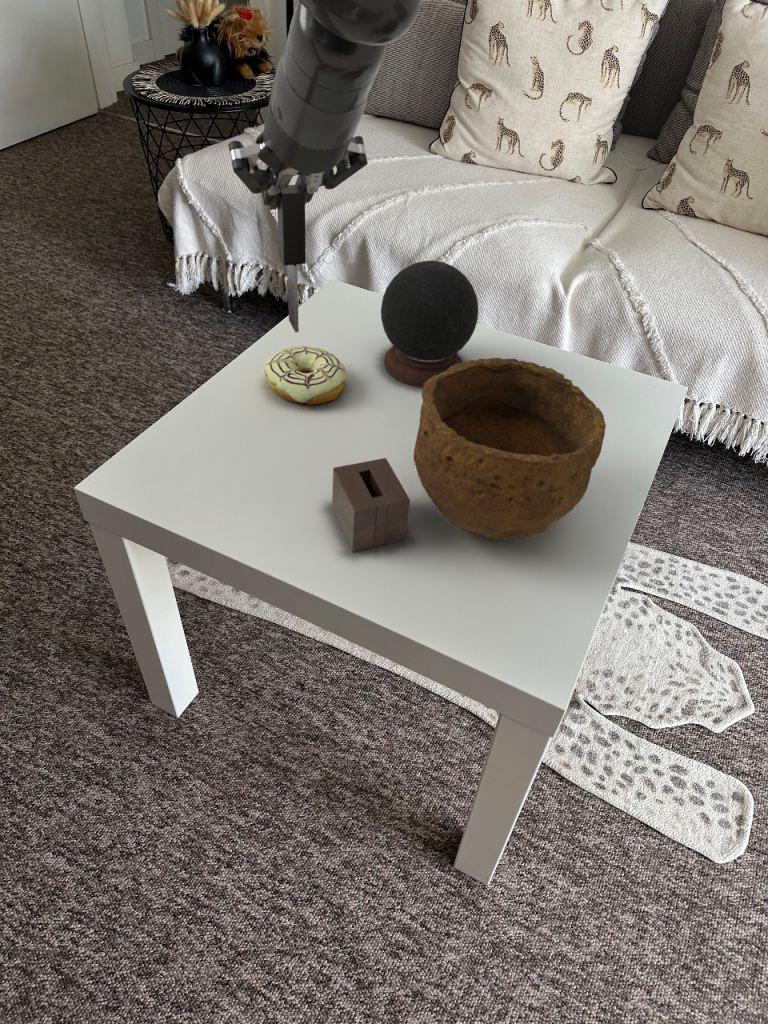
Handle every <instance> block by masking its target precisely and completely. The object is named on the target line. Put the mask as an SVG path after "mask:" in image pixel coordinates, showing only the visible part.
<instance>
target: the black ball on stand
mask: <svg viewBox="0 0 768 1024" xmlns="http://www.w3.org/2000/svg"><path fill="white" fill-rule="evenodd" d="M383 293H384V294H383V295H382V301H381V307H380V318H381V319H380V320H381V324H382V328H383V331H384V333H385V335H386V337H387V339H388V340H389V342H390V344H391V345H392V346H391V347H390V348H389V349H388V350H387V351H386V352H385V354H384V361H383V365H384V369H385V371H386V373H387V374H389V376H390V377H392V378H393V379H394V380H396V381H398V382H400V383H402V384H403V385H408V386H411V387H416V388H422V389H423V386H424V383H425V382H426V381H427V380H429V379H430V378H431V377H433V376H435V375H439V374H440V373H442V372H444V371H447V370H448V368H449V367H450V366H453V365H455V364H457V363H463V361H462V358H461V357H460V356H459V352H460V351H461V350H462V349H463V348H464V347H465V346H466V345H467V344H468V342H469V341H470V340H471V338H472V336H473V334H474V332H475V330H476V328H477V324H478V320H479V301H478V297H477V293H476V291H475V289H474V286H473V285H472V283H471V282H470V280H469V279H468V278H467V276H466V275H465V274H464V273H463V272H462V271H460V270H459V269H458V268H456V267H455V266H454V265H451V264H449V263H446V262H442V261H439V260H423V261H418V262H414V263H412V264H410V265H408V266H406V267H404V268H403V269H402V270H400V271H399V272H398V273H397V274H396V275H395V276H394V277H393V278H392V279H391V281H390V282H389V284H388V285H387V286H386V289H385V291H384V292H383Z"/></svg>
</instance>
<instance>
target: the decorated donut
mask: <svg viewBox="0 0 768 1024" xmlns="http://www.w3.org/2000/svg"><path fill="white" fill-rule="evenodd" d="M265 361H266V362H265V365H264V372H263V373H264V377H265V379H266V381H267V384H268V387H270V389H271V390H272V391H273V393H275V394H276V395H277V396H278V397H280V398H282V399H283V400H287V401H289V402H293V403H295V402H296V403H300V404H305V405H308V406H312V405H320V404H324V403H326V402H332V401H334V400H336V399H338V397H339V395H340V394H341V393H342V391H343V390H344V388H345V382H346V381H347V380H348V375H347V371H346V368H345V366H344V364H343V363H342V361H341V360H340V359H339V358H338V357H337V356H336V355H335V354H333V353H332V352H329V351H327V350H324V349H321V348H319V347H313V346H293V347H287V348H285V349H282V350H280V351H278V352H277V353H275V354H273V355H271V356H270V357H269V358H267V359H266V360H265Z"/></svg>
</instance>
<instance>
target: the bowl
mask: <svg viewBox="0 0 768 1024" xmlns="http://www.w3.org/2000/svg"><path fill="white" fill-rule="evenodd" d="M421 398H422V404H421V406H420V411H419V414H420V417H419V426H418V429H417V430H418V431H417V436H416V439H415V444H414V449H413V459H414V465H415V469H416V472H417V475H418V477H419V480H420V483H421V486H422V487H423V490H424V491H425V492H426V494H427V496H428V498H429V499H430V501H431V502H432V503H433V504H434V506H435V507H436V509H438V511H439V512H440V513H441V514H442V515H443V516H444V517H445V518H446V519H447V520H448V521H450V522H451V523H452V524H453V525H454V526H456V527H457V528H458V529H461V530H463V531H468V532H471V533H474V534H478V535H480V536H483V537H486V538H489V539H492V540H514V539H518V538H524V537H528V536H532V535H536V534H540V533H543V532H545V531H546V530H547V529H549V528H550V527H552V525H553V524H555V523H557V522H558V521H559V520H560V519H562V518H564V517H565V516H566V515H568V514H570V512H571V511H573V509H574V508H575V507H576V506H577V505H579V503H580V502H581V500H582V499H583V498H584V495H585V494H586V492H587V490H588V487H589V484H590V481H591V475H592V470H593V468H594V467H595V466H596V464H597V461H598V459H599V457H600V455H601V453H602V448H603V444H604V440H605V435H606V427H607V423H606V420H605V417H604V414H603V412H602V410H601V409H600V407H597V406H596V404H595V403H594V401H592V400H591V399H590V398H589V397H587V395H586V394H585V393H584V391H583V390H582V389H581V388H580V387H579V386H577V385H574V384H573V380H572V379H568V378H565V374H563V373H561V372H558V371H556V370H555V369H553V368H551V367H546V366H545V365H539V364H537V363H535V362H530V361H524V360H518V359H516V358H502V357H492V358H491V357H490V358H478V359H476V360H475V359H469V360H467V361H465V362H462V363H457V364H455V365H453V366H450V367H449V368H448V370H447V371H444V372H442V373H440V374H439V375H435V376H433V377H431V378H430V379H429V380H427V381H426V382H425V383H424V386H423V388H422V391H421Z"/></svg>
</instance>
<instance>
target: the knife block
mask: <svg viewBox="0 0 768 1024" xmlns="http://www.w3.org/2000/svg"><path fill="white" fill-rule="evenodd" d="M332 472H333V473H332V503H331V504H332V505H331V506H332V507H331V508H332V512H333V513H334V515H335V518H336V519H337V522H338V524H339V527H340V528H341V531H342V533H343V535H344V538H345V540H346V542H347V544H348V546H349V548H350V551H351V553H356V552H361V551H364V550H369V549H373V548H378V547H382V546H383V547H384V546H386V545H387V546H388V545H392V544H395V543H401V542H404V541H406V535H407V528H408V518H409V511H410V504H411V503H410V502H411V499H410V497H409V495H408V494H407V492H406V490H405V488H404V487H403V485H402V483H401V481H400V480H399V478H398V476H397V475H396V473H395V471H394V470H393V468H392V466H391V464H390V462H389V460H388V459H387V458H386V457H383V458H378V459H373V460H367V461H363V462H357V463H351V464H347V465H340V466H336V467H333V468H332Z"/></svg>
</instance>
